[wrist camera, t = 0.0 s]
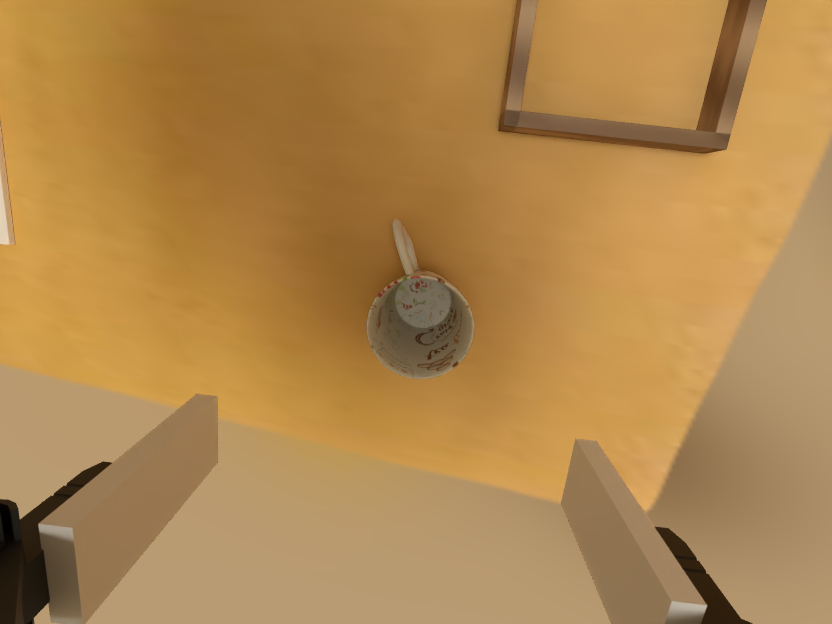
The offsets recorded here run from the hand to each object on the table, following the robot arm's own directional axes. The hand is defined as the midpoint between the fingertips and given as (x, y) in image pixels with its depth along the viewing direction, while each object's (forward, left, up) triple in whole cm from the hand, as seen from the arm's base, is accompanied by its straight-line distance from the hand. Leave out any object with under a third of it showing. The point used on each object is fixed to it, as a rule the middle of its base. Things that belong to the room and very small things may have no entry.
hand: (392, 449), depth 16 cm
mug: (-1, 0, -28) cm, 28 cm away
